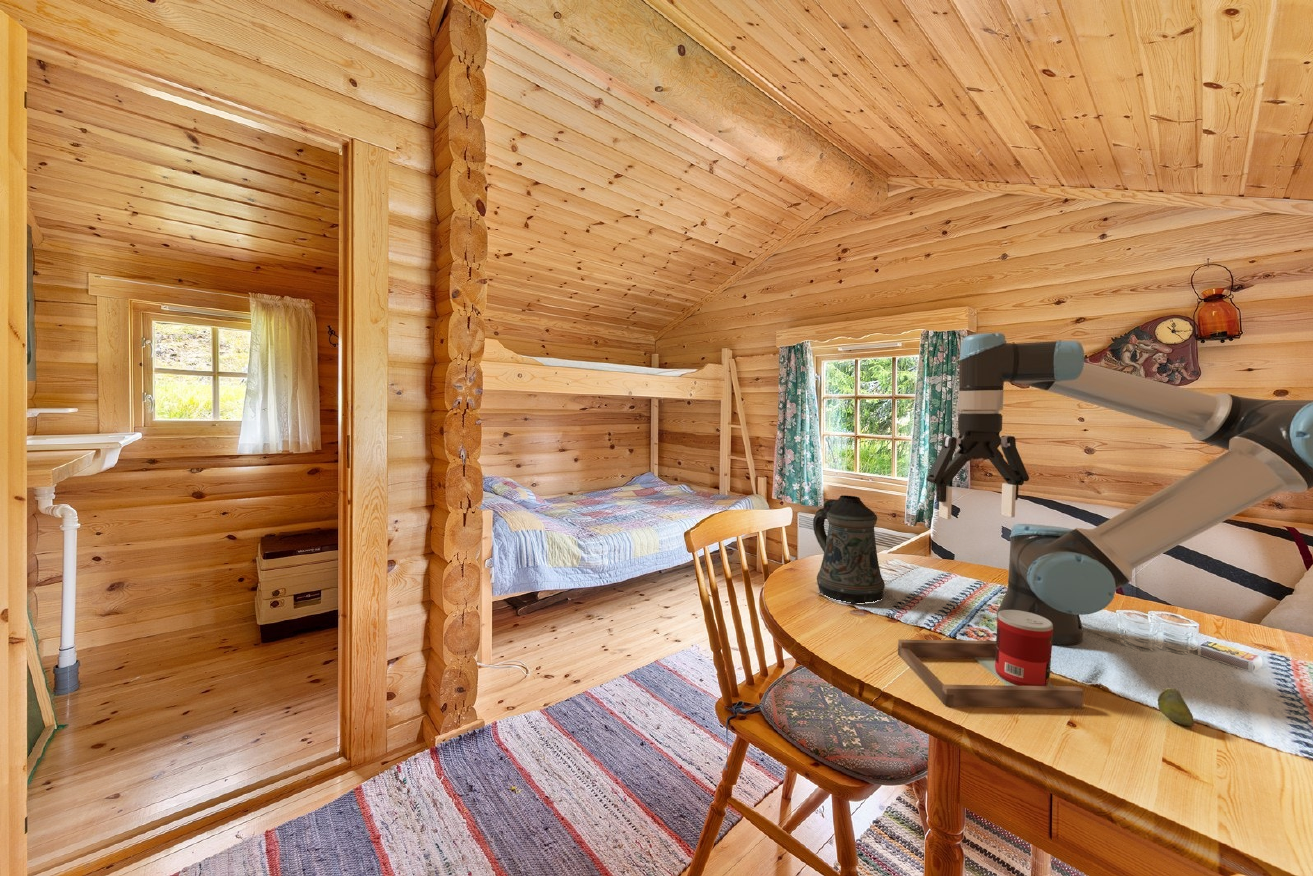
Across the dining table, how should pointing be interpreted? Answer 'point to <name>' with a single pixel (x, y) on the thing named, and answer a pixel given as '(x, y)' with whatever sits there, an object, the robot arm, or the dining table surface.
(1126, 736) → the dining table surface
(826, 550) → the beer stein
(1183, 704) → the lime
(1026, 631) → the canned food
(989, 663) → the bay
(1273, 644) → the dining table surface
